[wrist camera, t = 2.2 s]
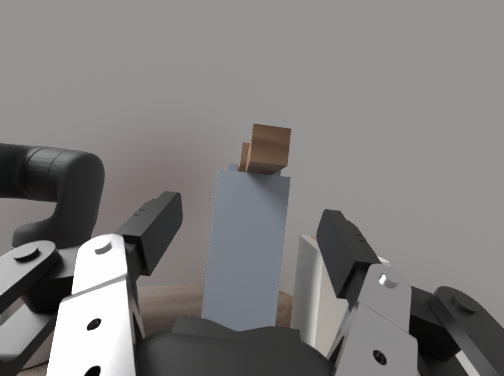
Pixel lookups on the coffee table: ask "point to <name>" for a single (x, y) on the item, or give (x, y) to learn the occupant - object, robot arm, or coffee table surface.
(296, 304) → the tall white block
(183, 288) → the coffee table surface
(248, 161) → the peg
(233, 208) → the tower
